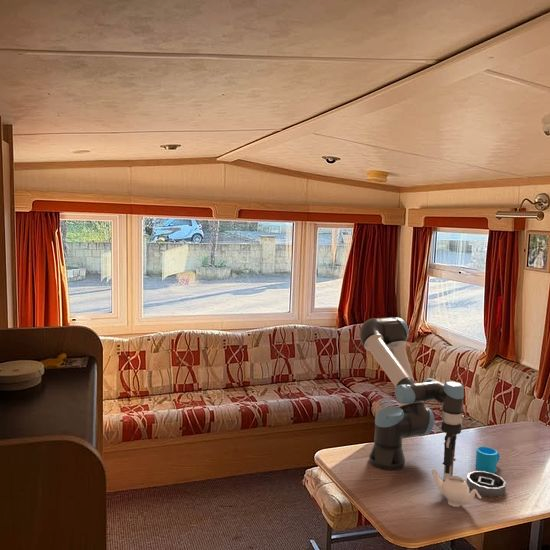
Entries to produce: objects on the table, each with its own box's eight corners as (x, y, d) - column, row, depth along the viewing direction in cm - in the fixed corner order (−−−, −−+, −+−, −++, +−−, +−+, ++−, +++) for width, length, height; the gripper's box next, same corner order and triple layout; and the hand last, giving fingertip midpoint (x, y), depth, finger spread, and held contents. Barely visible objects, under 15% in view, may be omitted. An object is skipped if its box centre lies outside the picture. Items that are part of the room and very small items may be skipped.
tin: (464, 491, 208) (464, 482, 208) (469, 476, 220) (470, 468, 220) (503, 500, 201) (503, 492, 201) (506, 484, 214) (507, 476, 213)
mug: (486, 475, 222) (488, 456, 221) (471, 467, 229) (472, 448, 228) (506, 469, 227) (507, 451, 226) (490, 461, 234) (491, 443, 234)
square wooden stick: (443, 482, 214) (445, 451, 213) (444, 479, 217) (446, 448, 215) (450, 484, 213) (452, 453, 211) (452, 481, 215) (454, 450, 214)
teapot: (473, 519, 188) (475, 494, 187) (423, 496, 203) (425, 473, 202) (486, 510, 194) (488, 486, 193) (437, 488, 209) (439, 466, 208)
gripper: (458, 430, 203) (454, 489, 206) (464, 417, 217) (460, 472, 220) (437, 426, 207) (434, 484, 209) (445, 413, 221) (442, 467, 223)
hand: (447, 477), depth 215 cm, fingers closed on square wooden stick, 3 cm apart
